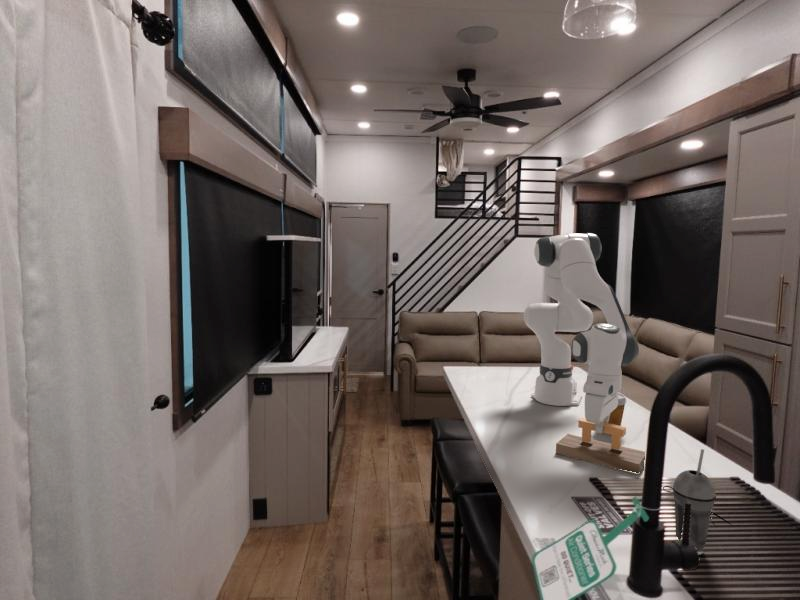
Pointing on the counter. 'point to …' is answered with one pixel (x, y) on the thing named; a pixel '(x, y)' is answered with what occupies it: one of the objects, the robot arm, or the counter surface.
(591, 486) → the counter surface
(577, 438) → the rail
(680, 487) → the beverage cup
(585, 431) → the orange piece
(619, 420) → the disposable coffee cup
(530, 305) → the robot arm
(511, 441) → the counter surface
